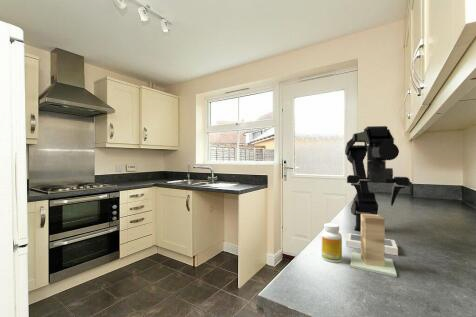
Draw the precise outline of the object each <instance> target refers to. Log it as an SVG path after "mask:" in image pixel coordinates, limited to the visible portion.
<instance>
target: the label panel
mask: <svg viewBox="0 0 476 317" xmlns="http://www.w3.org/2000/svg"><path fill="white" fill-rule="evenodd" d="M396 243H397V242H396V241H395V239H389V238H385V254H386V255H394V256H399V248H398V245H397V244H396ZM345 247H347V248H353V249H357V250H359V249H360V250H361V234H356V233H355V234H354V233H348V232H347V235H346V240H345Z"/></svg>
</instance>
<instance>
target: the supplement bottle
mask: <svg viewBox="0 0 476 317" xmlns="http://www.w3.org/2000/svg"><path fill="white" fill-rule="evenodd" d="M323 225H324V226H323V231H322V232H321V258H322V259H323V260H324V261H326V262H329V263H340V262H342V260H343V250H342V248H343V246H342V245H343V236H342V234H341V233H340V232H339V231H340V226H339V224H337V223H332V222H330V223H328V222H326V223H324V224H323Z"/></svg>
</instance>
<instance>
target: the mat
mask: <svg viewBox="0 0 476 317" xmlns="http://www.w3.org/2000/svg"><path fill="white" fill-rule="evenodd" d="M350 268H354V269H356V270H357V269H358V270H362V271H365V272H366V271H367V272H372V273H376V274H381V275H385V276H390V277H394V278H398V277H397V275H398V274H397V270H396V267H395V264H394V261H393V259H392V258H387V257H385V267H382V266H373V265H365V263H364V262H363V260H362V259H361V252H360V253H359V252H354V251H352V252H351V257H350Z"/></svg>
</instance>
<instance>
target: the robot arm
mask: <svg viewBox="0 0 476 317" xmlns="http://www.w3.org/2000/svg"><path fill="white" fill-rule="evenodd" d="M356 143H364V145H363V144H362V145H361V144H358V145H357V144H356ZM355 144H356V145H355ZM399 153H400V150H399V147H398V146H397V145H396V144H395V138H394V137H393V135H392V133H391V131H390V129H388V126H387V125H382V126H381V125H380V126H379V125H378V126H377V125H376V126H375V125H374V126H370V125H369V126H366V127H365V128H364V129H363V131H361V132H356V133H353V134H352V137H351V139H350V140H348V141H347V142H346V145H345V150H344V154H345V156H346V159H347V161H348V162H349V163H351V164H352V165H351V166H352V167H351V168H352V174H349V175H347V176H346V183H347V184H350V186H352V187H353V186H354V188H355V190H356V193H355V196H354V197H353V201H352V204H351V206H350V212H351V215H354V216H355V225H354V231H359V232H361V214H374V215H378V212H379V204H378V202H377V200H376V195H375V192H371V191H370V189H369V184H368V183H376V184H377V183H378V184H379V183H380V184H392V187H391V197H390V206H391V207H392V206H393V205H394V203H395V201H396V199H397V196H398V193H399V192H401V190H402V189H405V188H406V187H410V186H411V181H410V178H409V177H407V176H394V171H393V170H394V169H393V168H392V167H387V165H386V164H387V162H386V161H393V160H395V159H396V158H397V157H398V156H399ZM365 157H366V167H365V163H364V160H365ZM365 168H366V169H365Z"/></svg>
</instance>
